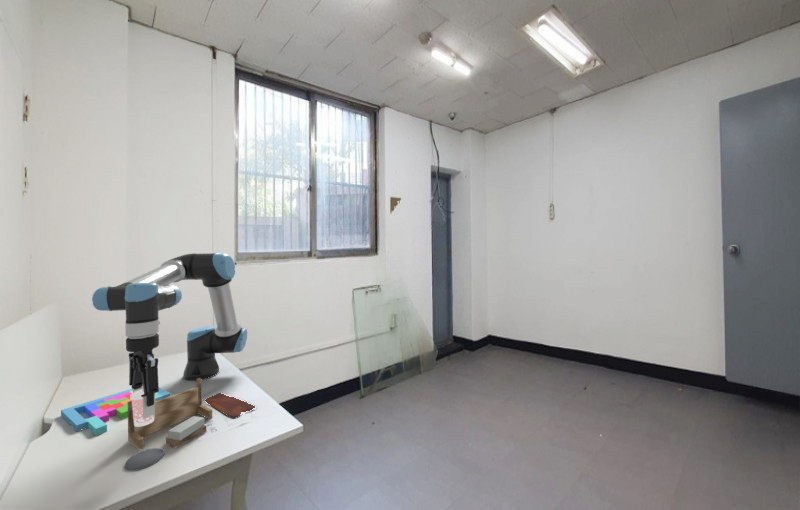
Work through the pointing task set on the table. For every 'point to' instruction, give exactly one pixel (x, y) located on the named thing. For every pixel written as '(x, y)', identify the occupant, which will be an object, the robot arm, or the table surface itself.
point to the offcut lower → (196, 433)
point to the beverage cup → (139, 409)
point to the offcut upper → (186, 428)
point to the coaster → (144, 459)
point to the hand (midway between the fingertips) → (144, 412)
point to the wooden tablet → (229, 405)
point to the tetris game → (102, 410)
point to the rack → (168, 413)
